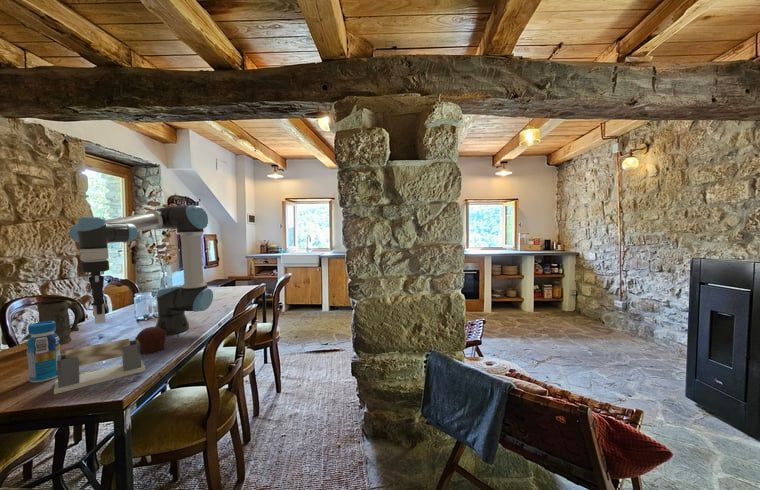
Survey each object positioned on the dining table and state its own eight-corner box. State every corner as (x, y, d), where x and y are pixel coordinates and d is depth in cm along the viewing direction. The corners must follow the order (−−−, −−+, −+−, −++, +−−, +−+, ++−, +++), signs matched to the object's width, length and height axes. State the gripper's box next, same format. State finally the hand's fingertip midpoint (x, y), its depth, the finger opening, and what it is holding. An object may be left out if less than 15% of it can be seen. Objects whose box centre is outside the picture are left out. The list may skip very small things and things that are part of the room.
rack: (142, 362, 127) (140, 337, 126) (145, 370, 119) (143, 344, 119) (56, 383, 111) (54, 355, 110) (54, 394, 103) (51, 363, 103)
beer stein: (48, 348, 144) (48, 304, 144) (30, 347, 146) (30, 303, 146) (86, 339, 159) (86, 298, 159) (69, 337, 161) (69, 298, 161)
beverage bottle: (21, 383, 111) (16, 327, 110) (46, 372, 119) (42, 320, 118) (45, 383, 111) (41, 326, 110) (69, 372, 119) (65, 319, 118)
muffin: (132, 351, 139) (131, 329, 138) (161, 343, 148) (160, 322, 147) (141, 357, 132) (140, 334, 131) (171, 349, 141) (170, 327, 140)
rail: (129, 351, 122) (128, 338, 121) (130, 354, 119) (129, 341, 118) (67, 364, 110) (66, 350, 110) (66, 368, 107) (65, 354, 107)
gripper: (80, 259, 120) (84, 314, 122) (80, 264, 102) (85, 329, 103) (106, 257, 125) (110, 310, 127) (111, 262, 107) (115, 324, 109)
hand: (99, 319), depth 115 cm, fingers open, 13 cm apart
